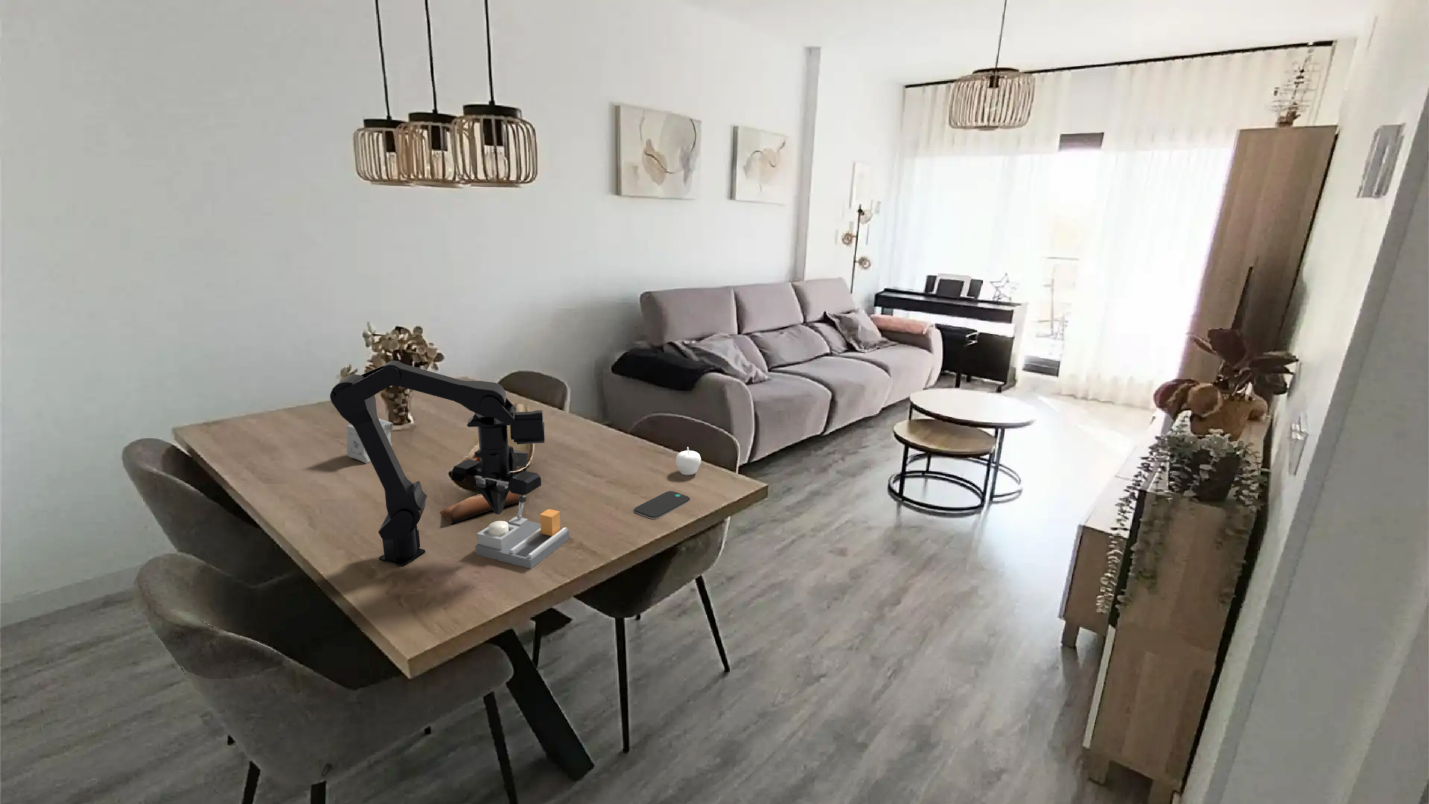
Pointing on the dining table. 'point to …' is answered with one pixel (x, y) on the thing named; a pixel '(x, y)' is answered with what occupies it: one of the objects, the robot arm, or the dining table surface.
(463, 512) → the sunglasses case
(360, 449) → the white printed carton
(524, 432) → the robot arm
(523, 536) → the panel
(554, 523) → the slider knob
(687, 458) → the plain white apple
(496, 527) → the button
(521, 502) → the toggle lever
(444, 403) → the dining table surface
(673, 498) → the smartphone
